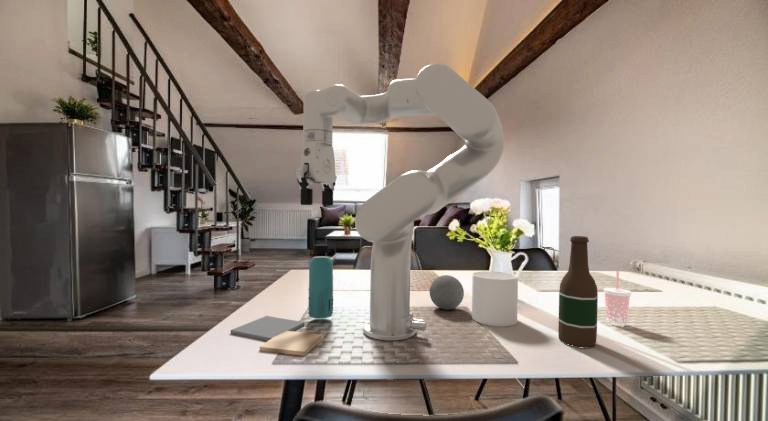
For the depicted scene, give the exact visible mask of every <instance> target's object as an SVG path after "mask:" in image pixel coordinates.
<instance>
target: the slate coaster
mask: <svg viewBox="0 0 768 421" xmlns="http://www.w3.org/2000/svg"><path fill="white" fill-rule="evenodd" d="M304 326H305V322H304V321H299V320H293V319H287V318H282V317H276V316H271V315H270V316H269V315H265V316H263V317H262V316H261V317H260V318H257V319H255V320H253V321H250V322H247V323H244V324H242V325H240V326H238V327H235V328H232V329H230V334H231V335H236V336H240V337H247V338H251V339H256V340H262V341H265V342H267V341H269V340H270V339H272V338H273V337H275V336H276V335H278V334H281V333H283V332H285V331H294V332H295V331H296V330H298V329H300V328H302V327H304Z"/></svg>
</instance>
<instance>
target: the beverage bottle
mask: <svg viewBox="0 0 768 421" xmlns="http://www.w3.org/2000/svg"><path fill="white" fill-rule="evenodd" d="M312 253H314V254H329V253H330V248H329V244H326V243H320V244H318V243H317V244H316V243H315V244H313V249H312ZM333 264H334V261H333V260H332V258H330V257H329V256H320V255H319V256H313V257H312V258H311V259H310V260H309V261H308V265H309V266H308V289H307V290H308V297H307V298H308V302H307V307H308V308H307V311H308V312H307V313H308V315H309V317H310V318H312V319H326V318H330V317H332V316H333V314H334V274H333V272H334V265H333Z"/></svg>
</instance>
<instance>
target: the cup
mask: <svg viewBox="0 0 768 421" xmlns="http://www.w3.org/2000/svg"><path fill="white" fill-rule="evenodd" d="M471 280H472V281H471V282H472V283H471V284H472V285H471V286H472V287H471V289H472V290H471V292H472V293H471V295H472V296H471V318H472V320H473V321H474V320H475V322H476V323H478V322H479V324H481V325H485V326H491V327H498V328H499V327H512V326H515V325H516V324H517V323H518V300H519V299H518V298H519V296H518V294H519V291H518V288H519V278H518V276H517V275H516V274H512V273H507V272H503V271H502V272H501V271H500V272H499V271H477V272H473V273H472V278H471Z"/></svg>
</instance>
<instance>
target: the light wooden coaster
mask: <svg viewBox="0 0 768 421" xmlns="http://www.w3.org/2000/svg"><path fill="white" fill-rule="evenodd" d="M324 338H325V334H323V333H322V334H321V333H313V332H305V331H304V332H303V331H295V330H294V331H285V332H283V333H281V334H278V335H276V336H275V337H273V338H272V339H270V340H269V341H265V343H263V344H261V345H259V351H260V352H268V353H277V354H286V355H295V356H303V357H304V356H307V354H308V353H309V352H311V350H313V348H315V347H316V346H317V345H318V344H319V343H320V342H321V341H322V340H324Z"/></svg>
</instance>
